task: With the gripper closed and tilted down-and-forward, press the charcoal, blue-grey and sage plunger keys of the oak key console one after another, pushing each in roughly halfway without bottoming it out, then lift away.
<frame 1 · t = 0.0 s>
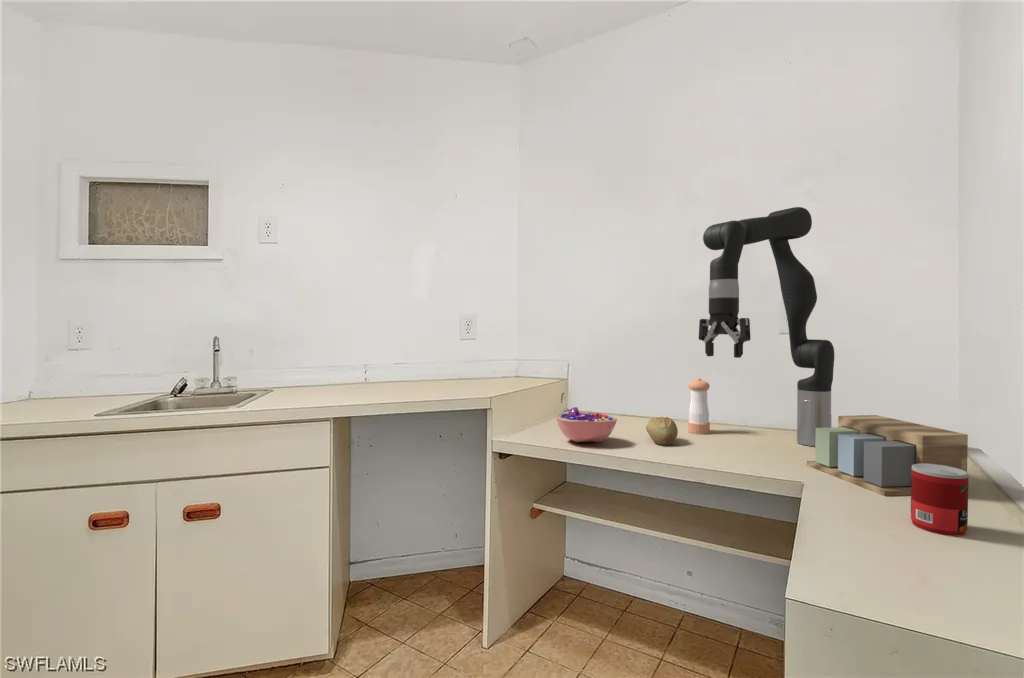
hand: (723, 356, 134), 29 cm above the counter, tool pointing down, fingers open, 8 cm apart
salt shaker: (698, 432, 176), on the counter
canned food: (938, 528, 91), on the counter
oak key console: (864, 478, 122), on the counter
blue-grey key: (864, 454, 121), point 6 cm above the counter, slide at 0.0 cm
cell model: (585, 442, 161), on the counter
bread roll: (661, 442, 162), on the counter
sage key: (840, 446, 129), point 6 cm above the counter, slide at 0.0 cm
charcoal key: (892, 463, 113), point 6 cm above the counter, slide at 0.0 cm
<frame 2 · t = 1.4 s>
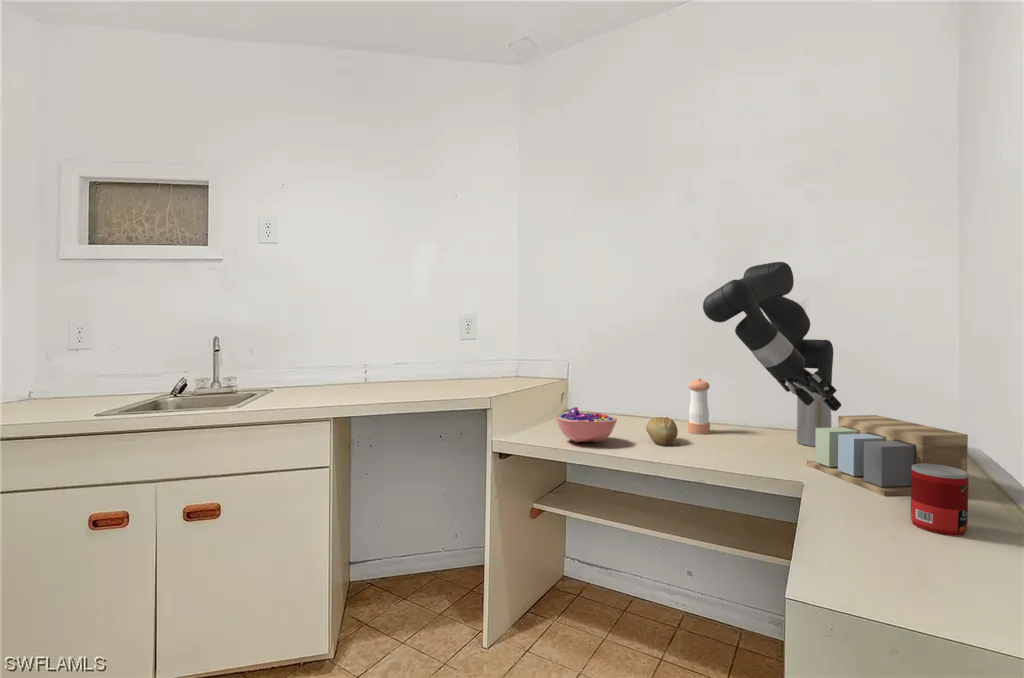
hand: (823, 405, 112), 20 cm above the counter, tool tilted 45°, fingers open, 8 cm apart
nothing on the counter moved.
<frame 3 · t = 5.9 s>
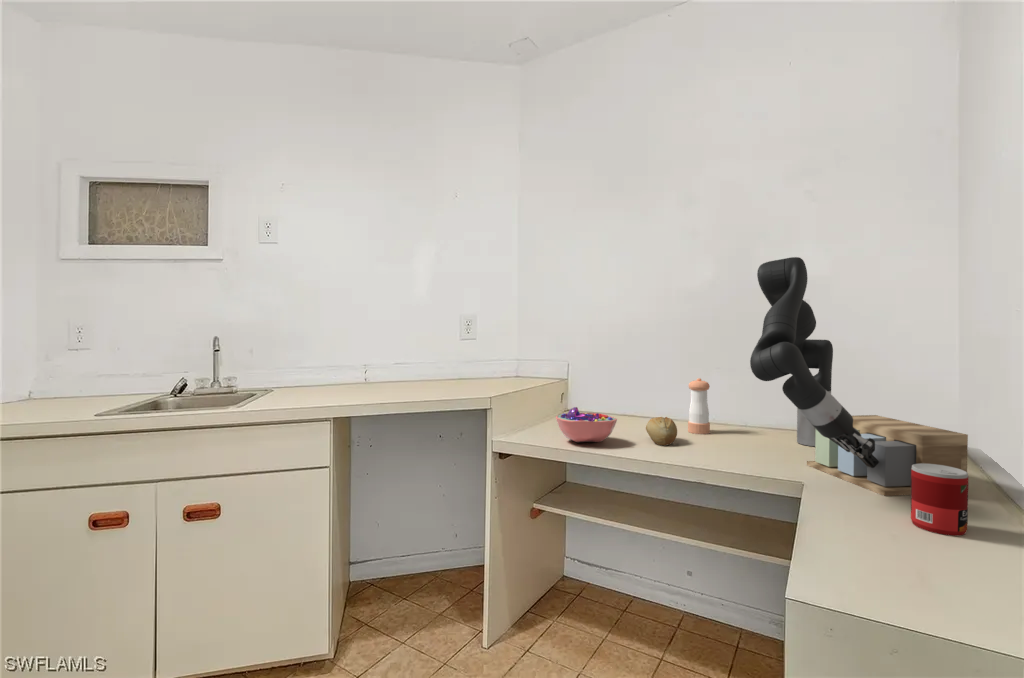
hand: (873, 464, 113), 6 cm above the counter, tool tilted 45°, fingers closed
charcoal key: (896, 462, 114), point 6 cm above the counter, slide at 0.9 cm, touching gripper
everything else where it was.
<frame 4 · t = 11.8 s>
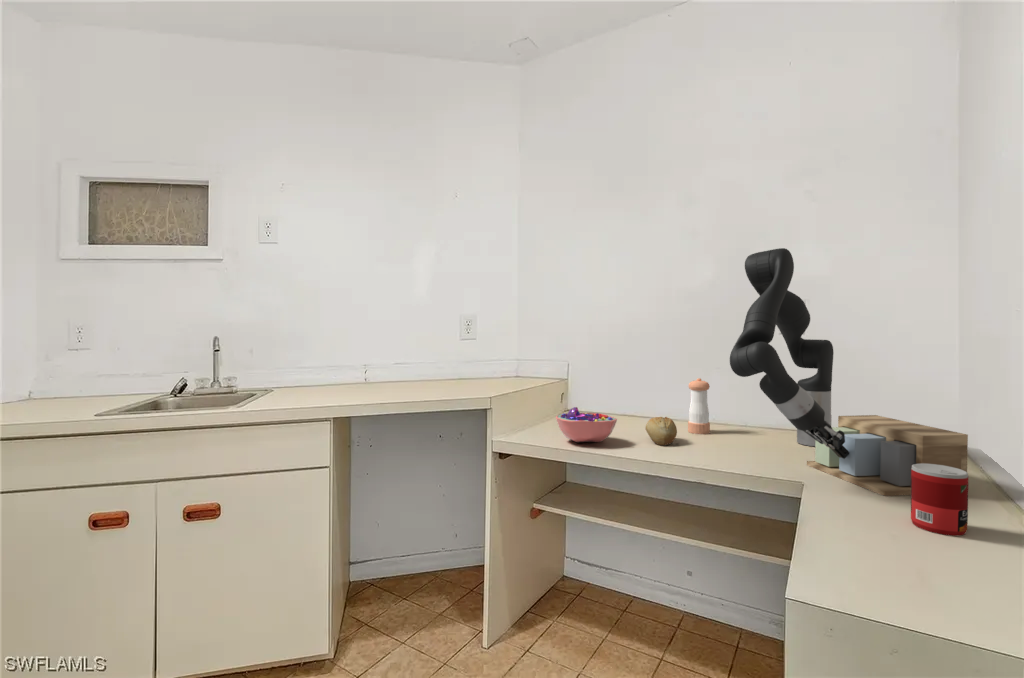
hand: (844, 455, 121), 6 cm above the counter, tool tilted 45°, fingers closed
blue-grey key: (866, 454, 121), point 6 cm above the counter, slide at 0.4 cm, touching gripper
charcoal key: (909, 462, 114), point 6 cm above the counter, slide at 4.3 cm
everything else where it was.
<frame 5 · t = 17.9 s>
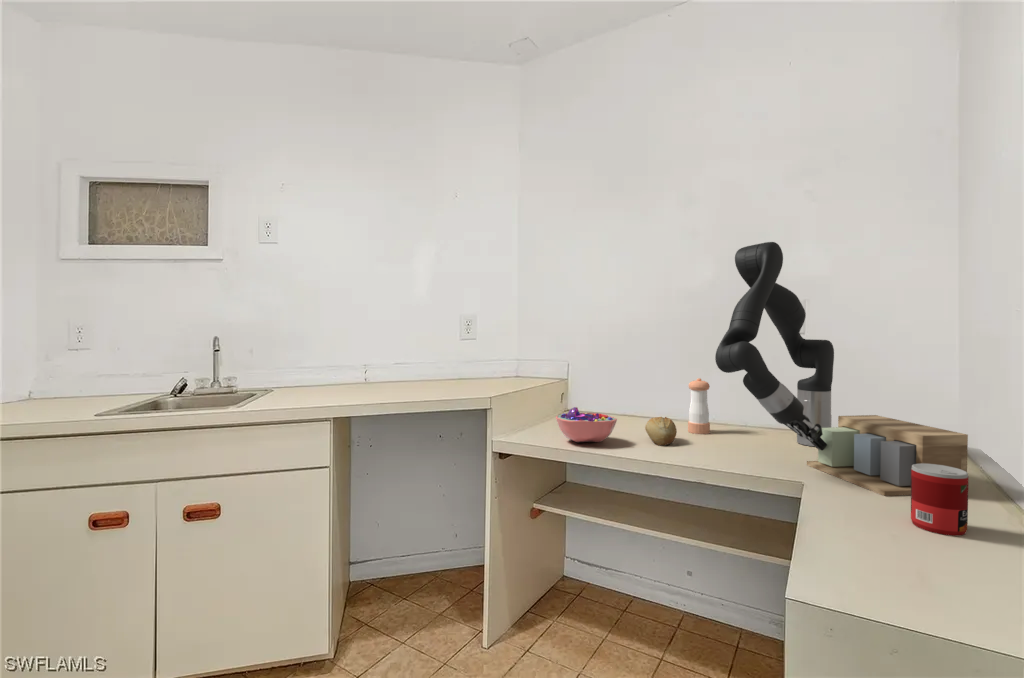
hand: (822, 447, 129), 6 cm above the counter, tool tilted 45°, fingers closed
blue-grey key: (880, 453, 122), point 6 cm above the counter, slide at 4.3 cm
sage key: (842, 446, 129), point 6 cm above the counter, slide at 0.8 cm, touching gripper
everything else where it was.
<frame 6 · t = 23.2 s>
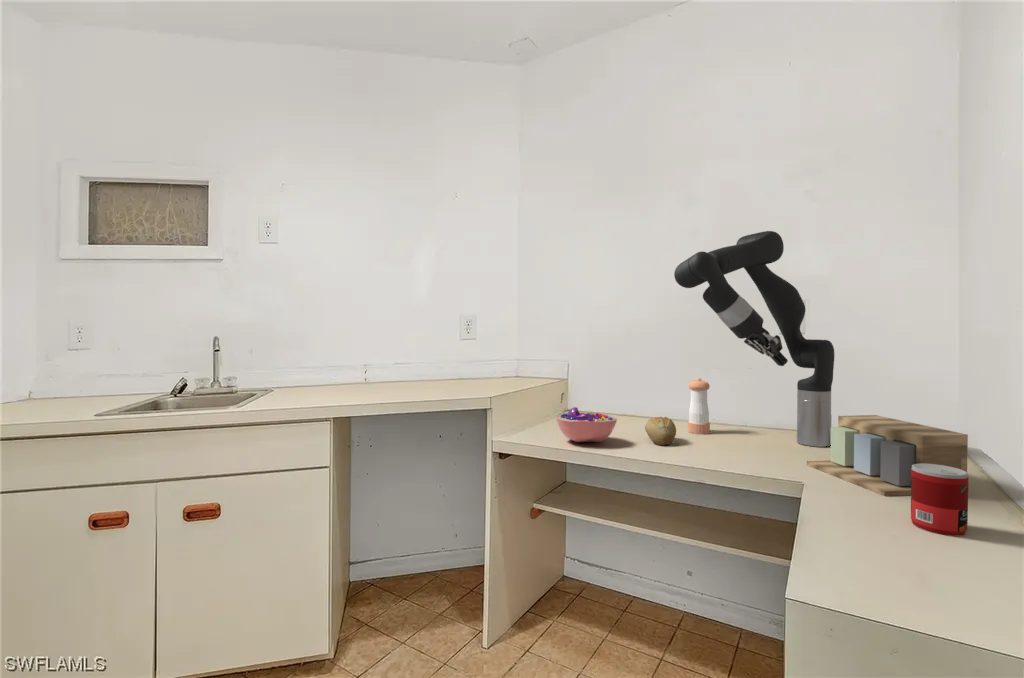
hand: (783, 363, 127), 28 cm above the counter, tool tilted 45°, fingers closed
sage key: (855, 446, 130), point 6 cm above the counter, slide at 4.3 cm
everything else where it was.
at the end: charcoal key slide at 4.3 cm; blue-grey key slide at 4.3 cm; sage key slide at 4.3 cm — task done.
